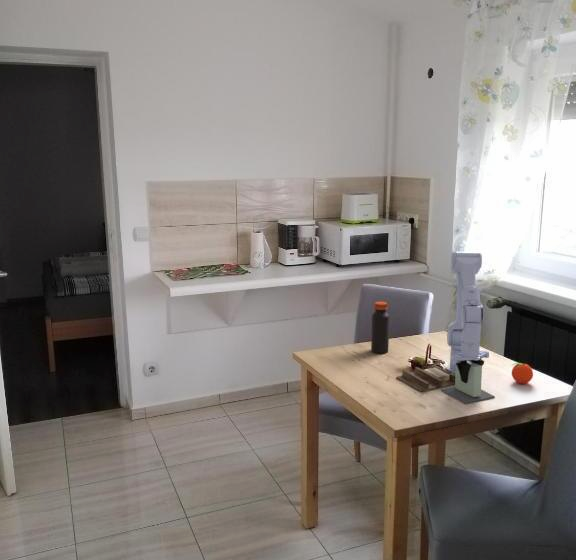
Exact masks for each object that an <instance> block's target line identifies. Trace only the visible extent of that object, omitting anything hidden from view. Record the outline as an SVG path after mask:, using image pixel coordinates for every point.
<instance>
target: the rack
mask: <svg viewBox="0 0 576 560" xmlns="http://www.w3.org/2000/svg"><path fill="white" fill-rule="evenodd" d="M432 366H433V368H437V369H439V370H441V371H443V372H445V373H447V374H449V375H450V380H448V381H444V382H443V380H441V379H439V378H437V377H435V376H433V375H431V374H429V373H428V372H426V371H424V369H421V368H420V367H417V366H415V367H414V372H410V371H408V370H407V369H402V370H401V371H402V373H401V375H397V376H396V379H397V380H399V381H400V382H402V383H404V384H406V385H408V386H410V387H411V388H412V389H414V390H416V391H418V392H419V393H424V392H428V391H433V390H437V389H444V388H449V387H453V386H455V373H453V372H451V371H449V370H447V369H445V368H442V367H440V366H438V365H435V364H434V365H432Z"/></svg>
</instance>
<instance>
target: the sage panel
mask: <svg viewBox="0 0 576 560" xmlns="http://www.w3.org/2000/svg"><path fill="white" fill-rule="evenodd" d="M467 362H468V364H470V365H471V367H470V369H469V373H468V381H467V383H464V382H462V381H461V377H460V373H459V370H458V367H457V365H456V374H455V373H454V375H455V385H454V387H455V388H456V389H458V390H460V391H462V392H464V393H466V394H468V395H470V396H472V397H477V396H481V389H482V381H483V380H482V377H483V375H482V373H483V366H481V365H478V364H476V363H473V362H471V361H467Z"/></svg>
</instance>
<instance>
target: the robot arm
mask: <svg viewBox="0 0 576 560" xmlns="http://www.w3.org/2000/svg"><path fill="white" fill-rule="evenodd" d="M482 262H483V256H482V253H481V251H455V250H454V251H453V252H452V253H451V259H450V272H451V274H453V275H454V276H456V280H457V283H456V284H457V285H456V286H457V287H456V315H455V317H456V318H455V320H454V321H452V322H451V323H449V324H448V325H447V333H446V343H447V345H448V346H449V347H450V353H449V354H450V357H449V366H445V367H444V370H446V371H448V372H450V373H452V374H454V375H455V374H456V365H457V367H458V370H459V373H460V377H461V381H462V382H464V383H467V381H468V373H469V369H470V367H471V365H470V364H468V362H467V361H471V362H473V363H476V364H478V365H481V366H482V367H483V366H484V364H485V360H483V359H484V358H485V359H488V358H490V351H488V350H480V347H481V330H482V324H483V323H484V319H485V311H484V305H483V304H482V302H481V296H480V295H481V294H480V290H479V288H478V287H476V275H477V274H479V272H480V270H481V268H482V265H483V263H482Z"/></svg>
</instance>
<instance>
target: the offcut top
mask: <svg viewBox="0 0 576 560" xmlns="http://www.w3.org/2000/svg"><path fill="white" fill-rule="evenodd" d="M423 370H424V371H426V372H428V373H429V374H431V375H433V376H435V377H437V378H439V379H445V378H450V375H449V374H447V373H445V372H443V371H441V370H439V369H437V368H431V367H429V368H426V369H425V368H424V369H423Z"/></svg>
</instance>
